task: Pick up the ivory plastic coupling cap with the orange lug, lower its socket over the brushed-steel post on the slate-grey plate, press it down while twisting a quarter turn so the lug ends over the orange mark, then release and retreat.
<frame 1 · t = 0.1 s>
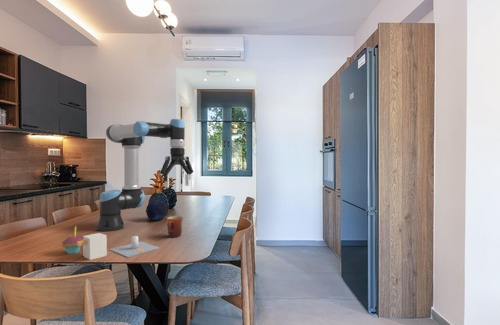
hand: (177, 186, 155), 28 cm above the table, fingers open, 13 cm apart
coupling: (95, 256, 126), on the table
decorative orb: (156, 220, 200), on the table
cupcake: (73, 252, 131), on the table
post base: (134, 249, 135), on the table
mug: (173, 237, 157), on the table
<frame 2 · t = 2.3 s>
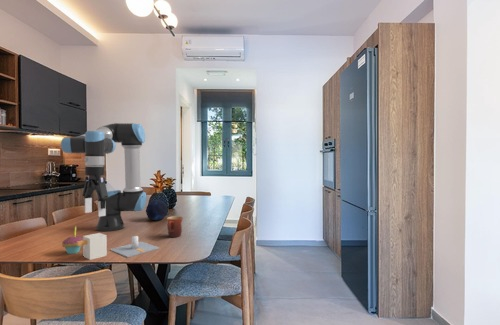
hand: (94, 214, 125), 19 cm above the table, fingers open, 13 cm apart
nothing on the table moved.
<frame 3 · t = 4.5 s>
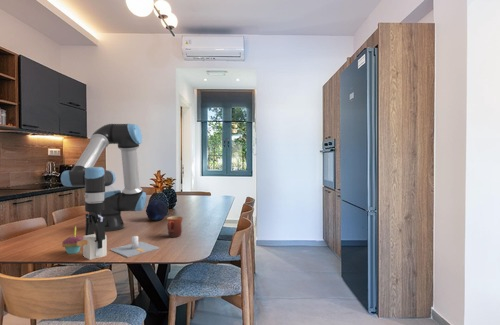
hand: (95, 253, 126), 1 cm above the table, fingers closed on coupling, 7 cm apart
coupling: (95, 255, 126), on the table, touching gripper
everything else where it was.
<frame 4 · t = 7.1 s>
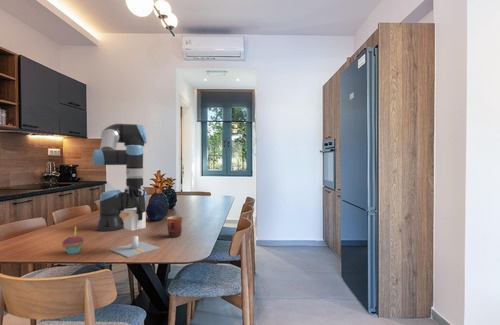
hand: (134, 225, 135), 11 cm above the table, fingers closed on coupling, 7 cm apart
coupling: (134, 228, 135), point 10 cm above the table, touching gripper
everything else where it was.
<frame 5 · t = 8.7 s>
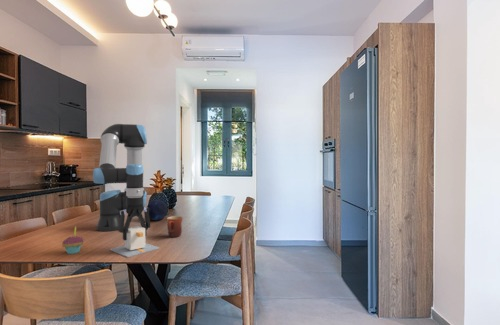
hand: (134, 244, 135), 2 cm above the table, fingers closed on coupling, 7 cm apart
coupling: (134, 247, 135), point 1 cm above the table, touching gripper
everything else where it was.
when the fingers open (2 cm above the table, at t = 10.0 s): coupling stays where it is, resting on post base.
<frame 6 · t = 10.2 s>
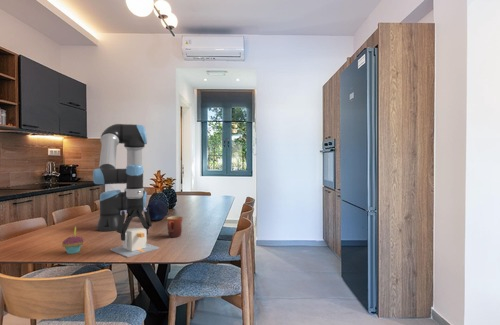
hand: (134, 244, 135), 2 cm above the table, fingers open, 9 cm apart
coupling: (134, 248, 135), point 1 cm above the table, touching post base
everything else where it was.
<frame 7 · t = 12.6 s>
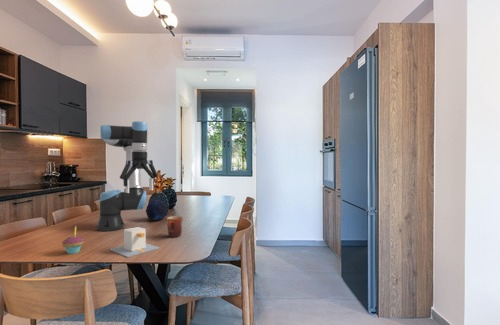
hand: (139, 191, 150), 26 cm above the table, fingers open, 13 cm apart
nothing on the table moved.
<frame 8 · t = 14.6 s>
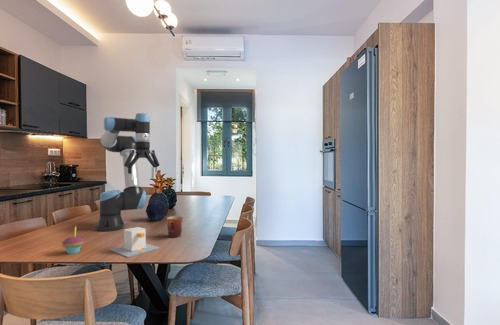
hand: (142, 179, 160), 32 cm above the table, fingers open, 13 cm apart
nothing on the table moved.
at the end: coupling 0.0 cm off-centre on the post base, point 0.6 cm above the post base's base; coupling tilted 1°; the gripper is holding nothing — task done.
